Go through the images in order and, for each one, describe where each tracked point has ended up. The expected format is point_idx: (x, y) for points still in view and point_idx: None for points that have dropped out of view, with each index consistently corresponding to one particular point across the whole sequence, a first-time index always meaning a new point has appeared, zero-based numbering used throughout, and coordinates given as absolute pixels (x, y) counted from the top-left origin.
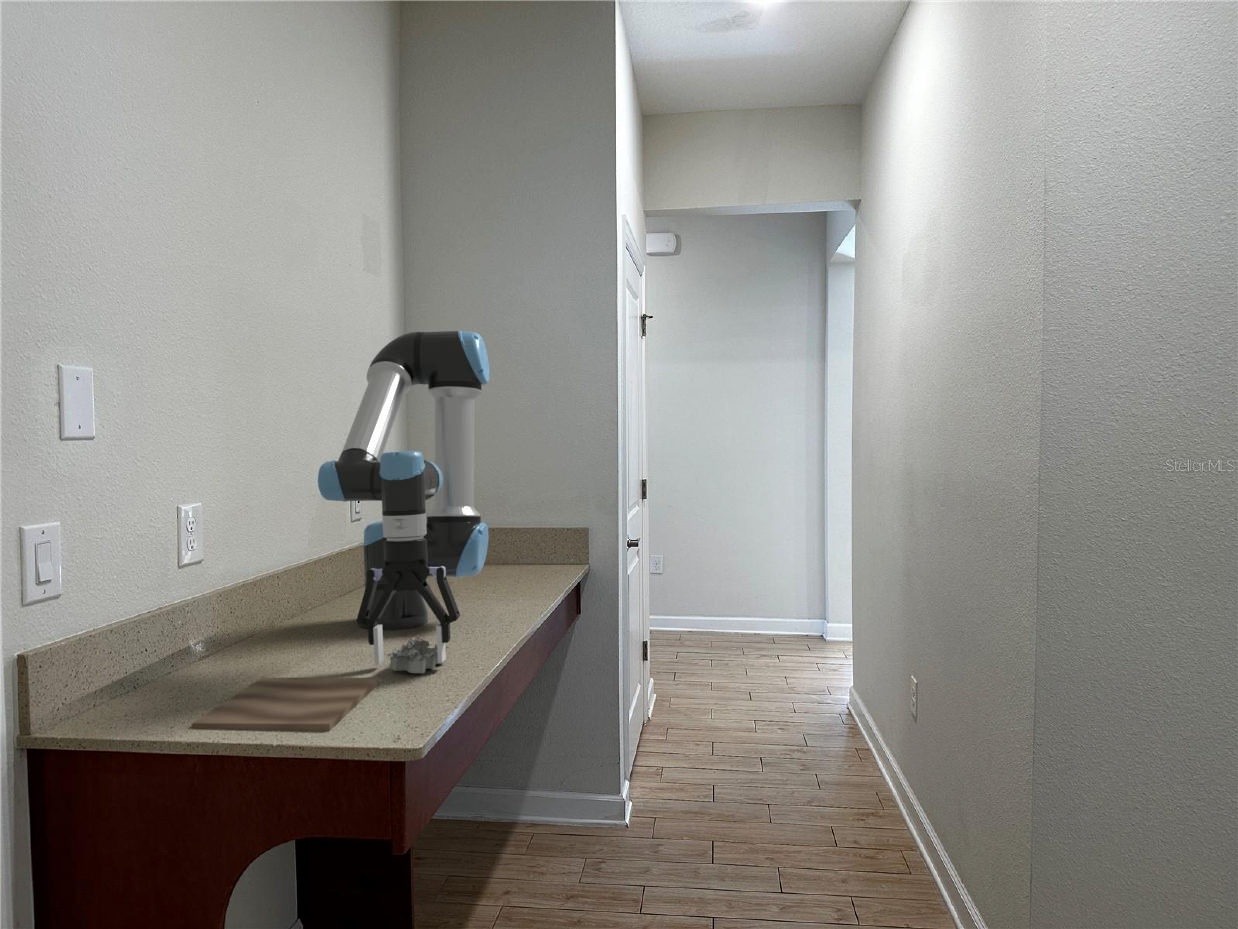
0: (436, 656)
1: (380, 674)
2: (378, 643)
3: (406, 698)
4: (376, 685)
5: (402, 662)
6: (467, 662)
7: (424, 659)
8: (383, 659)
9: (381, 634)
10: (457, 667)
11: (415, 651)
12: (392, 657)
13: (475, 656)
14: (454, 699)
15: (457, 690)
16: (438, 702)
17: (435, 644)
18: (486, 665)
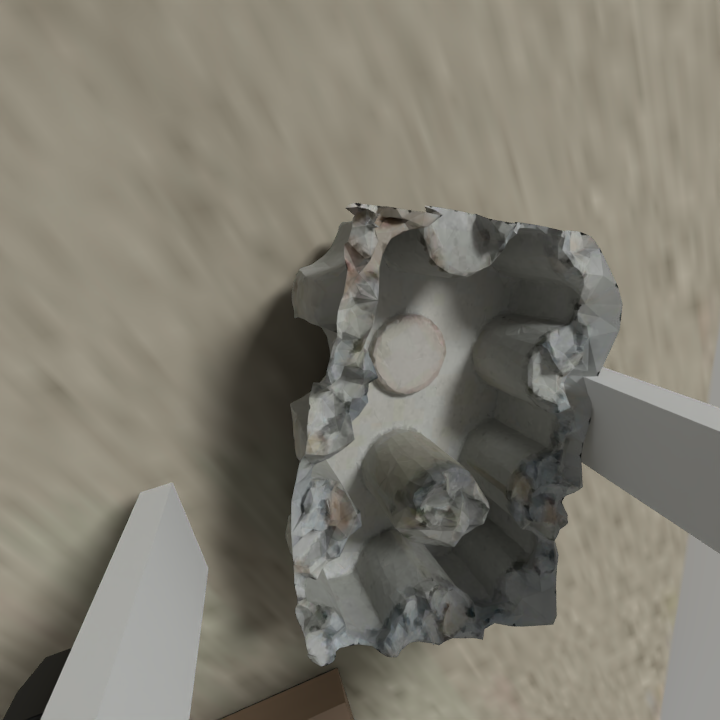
0: (513, 339)
1: (239, 551)
2: (186, 710)
3: (514, 710)
4: (347, 700)
5: (393, 569)
6: (610, 201)
7: (534, 544)
8: (172, 491)
9: (130, 708)
10: None
11: (462, 511)
12: (353, 637)
13: (627, 47)
14: (655, 645)
15: (648, 578)
16: (618, 685)
17: (503, 229)
18: (704, 237)
